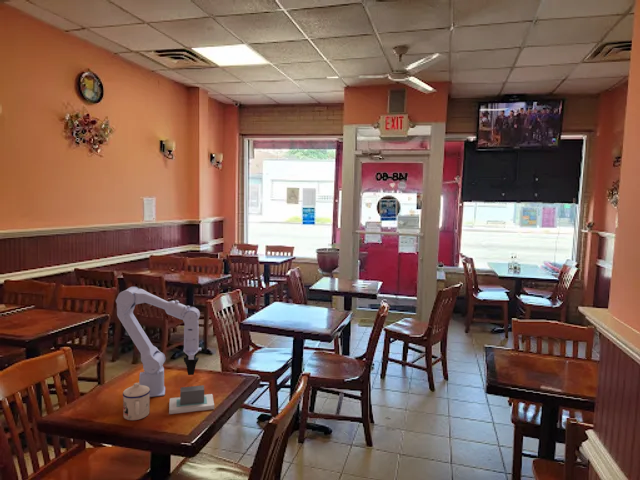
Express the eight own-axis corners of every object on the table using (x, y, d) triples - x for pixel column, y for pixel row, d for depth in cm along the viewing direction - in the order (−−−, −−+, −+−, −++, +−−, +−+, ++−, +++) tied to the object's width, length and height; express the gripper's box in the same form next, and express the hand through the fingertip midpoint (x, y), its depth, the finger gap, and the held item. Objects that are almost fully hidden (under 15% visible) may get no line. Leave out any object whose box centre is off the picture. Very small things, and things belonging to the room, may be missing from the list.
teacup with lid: (122, 411, 156) (122, 380, 155) (149, 407, 160) (149, 377, 159) (122, 427, 145) (122, 394, 144) (151, 422, 149) (151, 389, 148)
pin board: (169, 414, 155) (169, 401, 155) (169, 402, 164) (169, 390, 164) (214, 409, 160) (214, 397, 160) (212, 397, 170) (212, 386, 169)
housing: (180, 405, 159) (180, 392, 158) (180, 400, 163) (180, 387, 162) (204, 402, 162) (204, 389, 161) (203, 397, 166) (203, 385, 165)
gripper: (202, 343, 166) (201, 377, 167) (201, 332, 180) (200, 363, 181) (183, 344, 164) (182, 378, 165) (183, 333, 178) (183, 364, 179)
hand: (190, 370), depth 173 cm, fingers open, 7 cm apart
